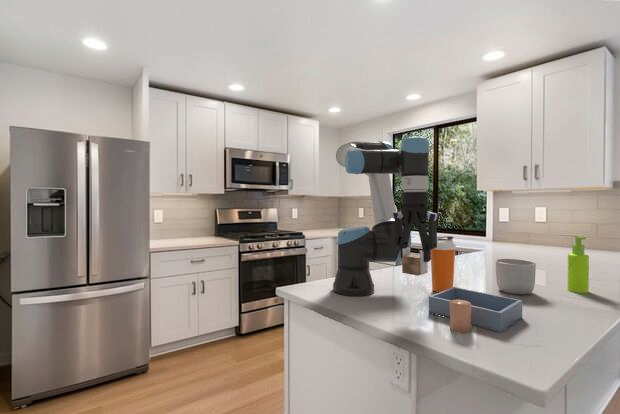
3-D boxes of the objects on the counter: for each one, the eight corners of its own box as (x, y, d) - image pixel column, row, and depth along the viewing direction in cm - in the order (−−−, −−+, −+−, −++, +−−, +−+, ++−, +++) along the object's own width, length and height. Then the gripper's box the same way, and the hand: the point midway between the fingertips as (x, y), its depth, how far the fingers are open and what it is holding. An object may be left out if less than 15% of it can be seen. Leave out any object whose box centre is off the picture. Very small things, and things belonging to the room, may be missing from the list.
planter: (512, 286, 128) (512, 257, 127) (544, 294, 116) (544, 263, 116) (487, 289, 124) (487, 259, 124) (517, 298, 112) (517, 266, 112)
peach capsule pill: (446, 329, 86) (446, 302, 86) (455, 324, 89) (455, 298, 89) (465, 335, 82) (465, 306, 82) (474, 329, 85) (474, 302, 85)
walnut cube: (402, 272, 97) (402, 255, 97) (411, 270, 100) (411, 253, 100) (417, 275, 93) (417, 257, 93) (427, 273, 96) (427, 255, 96)
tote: (428, 313, 98) (428, 296, 98) (453, 302, 108) (453, 286, 108) (500, 332, 83) (501, 313, 83) (522, 318, 93) (522, 300, 93)
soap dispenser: (571, 293, 117) (572, 236, 117) (565, 288, 124) (565, 234, 123) (592, 294, 115) (593, 237, 115) (584, 289, 122) (585, 235, 121)
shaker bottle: (458, 294, 117) (458, 237, 116) (431, 293, 118) (431, 237, 118) (452, 288, 125) (452, 235, 125) (427, 287, 127) (427, 234, 127)
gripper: (381, 192, 101) (381, 268, 101) (437, 190, 87) (437, 279, 87) (396, 192, 105) (396, 265, 106) (451, 190, 92) (451, 274, 92)
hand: (414, 271), depth 97 cm, fingers closed on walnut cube, 5 cm apart
